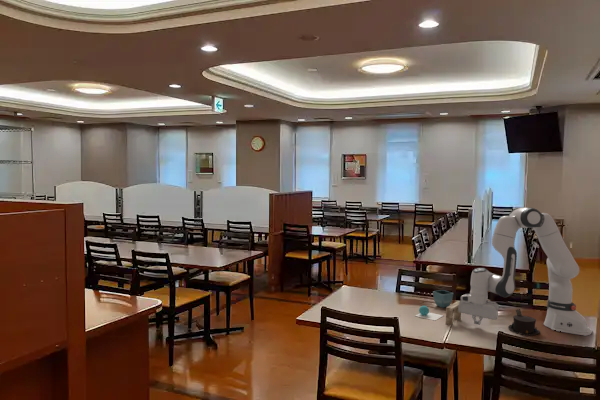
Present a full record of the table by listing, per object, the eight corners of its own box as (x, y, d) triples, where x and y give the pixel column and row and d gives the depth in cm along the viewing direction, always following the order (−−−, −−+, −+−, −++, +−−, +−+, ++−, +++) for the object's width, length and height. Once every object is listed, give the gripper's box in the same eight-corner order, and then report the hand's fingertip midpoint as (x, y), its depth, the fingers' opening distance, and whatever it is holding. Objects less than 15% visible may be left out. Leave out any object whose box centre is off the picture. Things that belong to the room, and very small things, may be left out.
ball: (425, 316, 267) (432, 310, 265) (421, 318, 263) (428, 312, 260) (419, 308, 270) (426, 302, 267) (415, 310, 265) (422, 304, 263)
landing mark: (443, 315, 265) (443, 315, 265) (435, 320, 255) (435, 320, 255) (423, 311, 272) (423, 311, 272) (414, 316, 263) (414, 315, 263)
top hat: (544, 332, 242) (545, 312, 242) (533, 338, 232) (534, 318, 231) (514, 324, 253) (515, 306, 252) (503, 330, 243) (504, 311, 242)
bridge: (460, 319, 260) (461, 303, 259) (450, 325, 249) (451, 308, 248) (455, 317, 262) (456, 301, 261) (445, 324, 250) (446, 307, 250)
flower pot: (431, 305, 286) (432, 291, 285) (442, 303, 290) (443, 289, 289) (442, 309, 278) (443, 294, 277) (453, 307, 282) (453, 293, 281)
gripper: (500, 301, 242) (499, 327, 243) (461, 293, 255) (460, 318, 256) (497, 303, 237) (495, 330, 238) (457, 296, 250) (456, 321, 251)
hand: (477, 324), depth 247 cm, fingers closed
